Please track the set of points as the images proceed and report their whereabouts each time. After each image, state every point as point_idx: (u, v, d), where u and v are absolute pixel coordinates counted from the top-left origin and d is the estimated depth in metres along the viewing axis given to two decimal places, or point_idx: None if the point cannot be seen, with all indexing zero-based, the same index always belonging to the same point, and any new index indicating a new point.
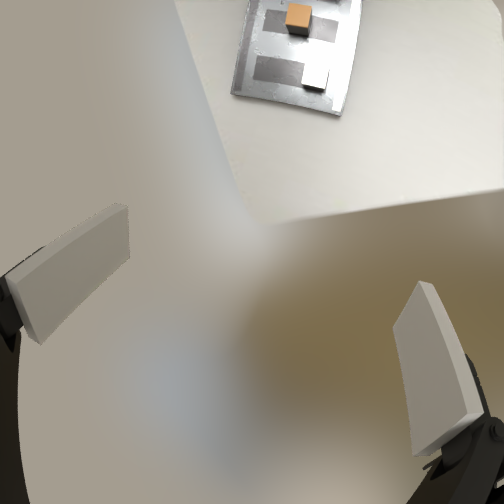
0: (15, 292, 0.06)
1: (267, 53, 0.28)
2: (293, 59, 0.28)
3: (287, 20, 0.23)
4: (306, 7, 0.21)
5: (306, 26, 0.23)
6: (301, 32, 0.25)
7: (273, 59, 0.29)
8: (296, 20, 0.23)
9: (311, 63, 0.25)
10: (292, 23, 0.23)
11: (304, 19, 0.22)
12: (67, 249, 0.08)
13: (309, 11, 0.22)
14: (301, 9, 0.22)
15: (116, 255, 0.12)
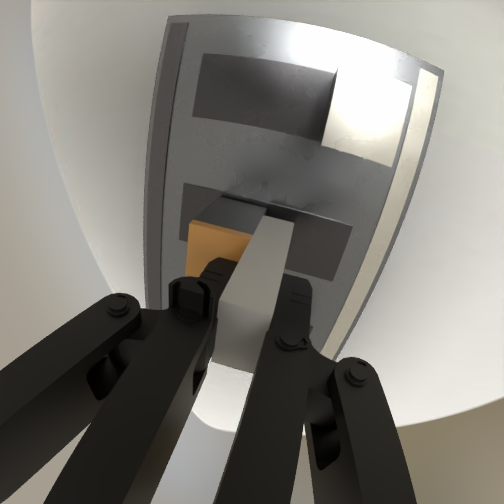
0: (233, 316, 0.08)
1: None
2: None
3: None
4: (235, 242, 0.11)
5: None
6: None
7: None
8: None
9: None
10: None
11: None
12: None
13: None
14: (222, 248, 0.11)
15: None
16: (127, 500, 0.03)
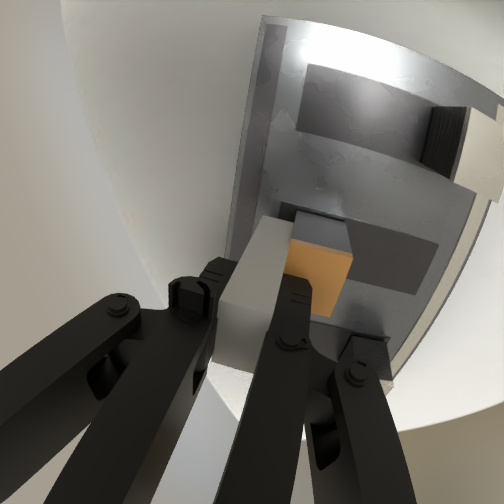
0: (233, 317, 0.08)
1: None
2: (327, 321, 0.17)
3: None
4: (337, 261, 0.11)
5: (327, 314, 0.12)
6: None
7: None
8: None
9: None
10: None
11: (325, 297, 0.11)
12: None
13: (343, 274, 0.11)
14: (322, 267, 0.11)
15: None
16: (127, 500, 0.03)
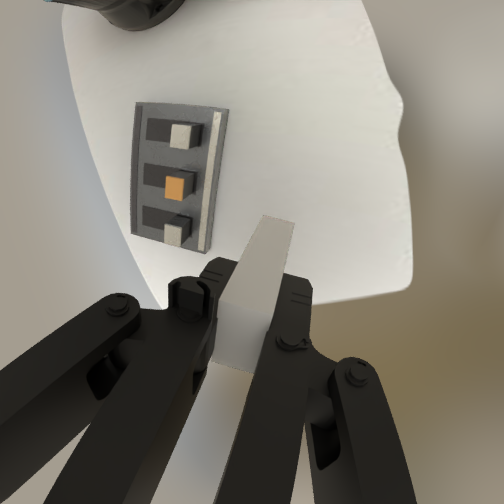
0: (232, 316, 0.08)
1: (149, 204, 0.42)
2: (166, 209, 0.42)
3: (166, 194, 0.36)
4: (179, 181, 0.35)
5: (180, 200, 0.36)
6: None
7: (153, 209, 0.43)
8: (172, 194, 0.36)
9: (168, 228, 0.39)
10: (170, 197, 0.37)
11: (178, 193, 0.36)
12: None
13: (181, 185, 0.35)
14: (175, 183, 0.35)
15: None
16: (127, 500, 0.03)
